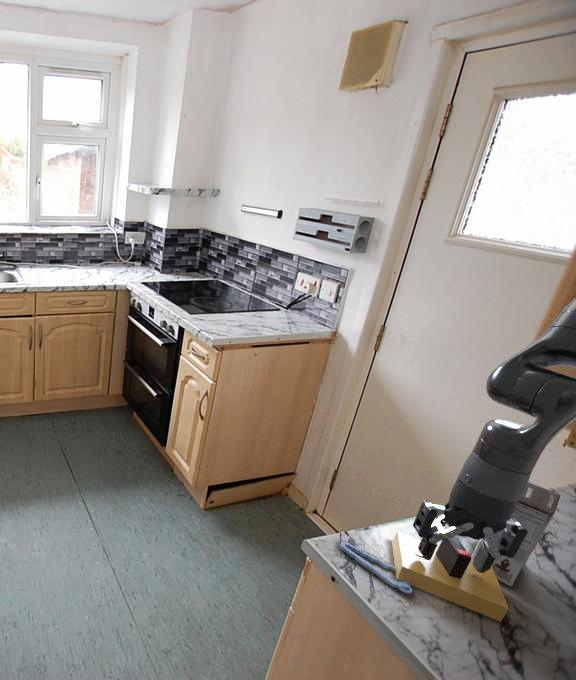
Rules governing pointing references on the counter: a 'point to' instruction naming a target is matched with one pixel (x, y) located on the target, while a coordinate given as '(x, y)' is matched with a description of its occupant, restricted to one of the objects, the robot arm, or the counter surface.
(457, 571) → the lock knob
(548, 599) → the counter surface
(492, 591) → the tan flat wooden block
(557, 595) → the counter surface
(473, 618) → the counter surface
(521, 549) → the coffee box
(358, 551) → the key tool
